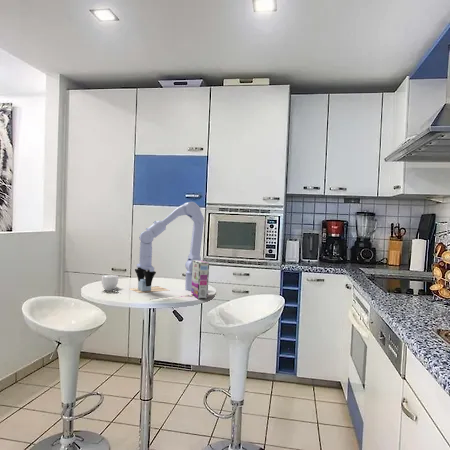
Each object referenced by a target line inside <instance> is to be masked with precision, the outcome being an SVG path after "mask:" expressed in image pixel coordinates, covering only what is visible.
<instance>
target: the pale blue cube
mask: <svg viewBox="0 0 450 450" xmlns="http://www.w3.org/2000/svg"><path fill="white" fill-rule="evenodd" d="M137 281H138V280H137ZM151 287H152V285H151V286H146V282H145V278H144V279H140V281H138V282H137V288H138V290H140V291H150V290H151Z"/></svg>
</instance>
